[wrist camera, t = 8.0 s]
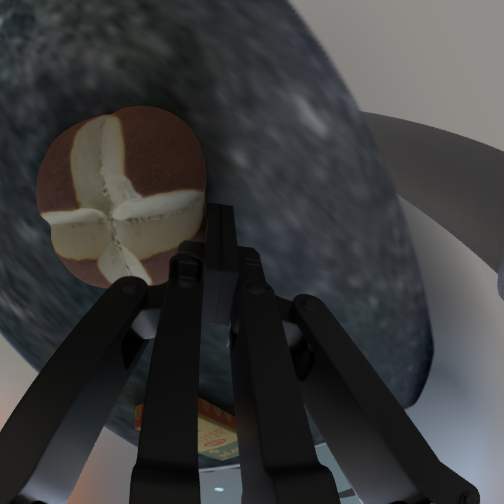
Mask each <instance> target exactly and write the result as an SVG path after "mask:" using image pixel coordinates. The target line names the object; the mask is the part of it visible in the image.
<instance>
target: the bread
mask: <svg viewBox="0 0 504 504" xmlns="http://www.w3.org/2000/svg"><path fill="white" fill-rule="evenodd" d="M206 184H207V171H206V162H205V157H204V154H203V152H202V148H201V145H200V143H199V141H198V139H197V137H196V135H195V134H194V132H193V131H192V129H191V128H190V127H189V126H188V125H187V124H186V123H185V122H184V121H183V120H181V119H180V118H179V117H177V116H175V115H174V114H172V113H170V112H168V111H166V110H163V109H160V108H157V107H153V106H146V105H145V106H132V107H127V108H123V109H121V110H119V111H117V112H115V113H113V114H110V115H100V116H95V117H92V118H89V119H87V120H84V121H82V122H80V123H78V124H76V125H74V126H72V127H70V128H69V129H67V130H65V131H64V132H63V133H61V134H60V135H59V136H58V137H57V138H56V139H55V140H54V141H53V143H52V144H51V145H50V147H49V149H48V151H47V153H46V155H45V157H44V159H43V161H42V164H41V166H40V169H39V173H38V178H37V184H36V198H37V205H38V208H39V212H40V215H41V216H42V217H43V218H44V219H45V220H46V221H48V222H49V224H50V226H51V239H52V245H53V247H54V250H55V252H56V254H57V255H58V257H59V258H60V260H61V261H62V262H63V264H64V265H65V266H66V267H67V269H68V270H69V271H70V272H71V273H72V274H73V275H75V276H76V277H77V278H78V279H80V280H82V281H84V282H85V283H88V284H90V285H93V286H97V287H101V288H109V287H110V286H111V285H112V284H113V283H114V281H116V280H117V279H119V278H121V277H124V276H137V277H140V278H142V279H144V280H145V282H146V283H147V284H148V285H159V284H162V283H165V282H166V281H168V277H169V260H170V259H171V257H172V256H174V255H176V254H177V250H178V246H179V244H180V243H181V242H183V241H184V240H189V241H197V242H204V238H205V231H206V224H207V213H206V202H205V190H206Z"/></svg>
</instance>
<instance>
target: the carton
mask: <svg viewBox="0 0 504 504" xmlns="http://www.w3.org/2000/svg"><path fill="white" fill-rule="evenodd" d="M143 406H144V404H141V405H138V406H136V412H135V429H137V430H139V431H140V428H141V420H142V413H143ZM198 453H199V454H202V455H206V456H209V457H212V458H216V459H219V460H226V459H229V458H232V457H235V456H238V455H239V450H238V439H237V429H236V418H235V416H233V415H231V414H229V413H227V412H225V411H223V410H222V409H220V408H218V407H216V406H214V405H212V404H211V403H209V402H207V401H205V400H203V399H202V398H200V397H198Z"/></svg>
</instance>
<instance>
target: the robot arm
mask: <svg viewBox="0 0 504 504" xmlns="http://www.w3.org/2000/svg"><path fill="white" fill-rule="evenodd" d="M230 318H231V328H230V333H229V337H228V342H227V346H226V347H228V348H229V346H230V357H231V370H232V383H233V395H234V407H235V418H236V429H237V439H238V450H239V459H240V469H241V477H242V488H243V491H242V498H241V504H341V503H340V499H339V495H338V491H337V487H336V483H335V480H334V477H333V475H332V472H331V471H330V470H329V469H328V467H326V466H324V465H322V464H320V462H319V461H318V458H317V455H316V451H315V447H314V443H313V439H312V435H311V431H310V427H309V423H308V419H307V415H306V411H305V407H304V404H305V406H306V408H307V410H308V412H309V413H310V415H311V417H312V419H313V421H314V422H315V424H316V426H317V428H318V430H319V431H320V433H321V435H322V437H323V438H324V440H325V442H326V444H327V446H328V447H329V449H330V451H331V452H332V454H333V456H334V458H335V460H336V461H337V463H338V465H339V467H340V468H341V470H342V472H343V473H344V475H345V477H346V479H347V480H348V482H349V484H350V485H351V487H352V489H353V491H354V492H355V494H356V496H357V497H358V498H359V500H360V501H361V503H362V504H480V495H479V492H478V490H477V488H476V487H475V486H474V485H472V484H471V483H469V482H468V481H466V480H465V479H464V478H462V477H461V476H459V475H458V474H457V473H455V472H454V471H453V470H451V469H450V468H448V467H447V466H446V465H444V464H443V463H442V462H440V461H439V460H438V458H437V456H436V455H435V453H434V452H433V451H432V449H431V448H430V446H429V445H428V443H427V442H426V440H425V439H424V438H423V436H422V435H421V433H420V432H419V431H418V429H417V428H416V426H415V425H414V423H413V422H412V421H411V419H410V418H409V416H407V414H406V412H405V411H404V409H403V408H402V407H401V405H400V404H399V403H398V401H397V400H396V398H395V397H394V396H393V394H392V393H391V392H390V390H389V389H388V387H387V386H386V385H385V383H384V382H383V381H382V379H381V378H380V377H379V375H378V374H377V373H376V371H375V370H374V369H373V367H372V366H371V364H370V363H369V362H368V360H367V359H366V358H365V356H364V355H363V354H362V352H361V351H360V350H359V349H358V347H357V346H356V345H355V343H354V342H353V341H352V339H351V338H350V337H349V335H348V334H347V333H346V331H345V330H344V329H343V327H342V326H341V325H340V324H339V322H338V321H337V320H336V318H335V317H334V316H333V314H332V313H331V312H330V311H329V309H328V308H327V307H326V305H325V304H324V303H323V302H322V301H321V300H320V299H318V298H316V297H315V296H312V295H308V294H300V295H297V296H296V297H295V298H294V300H293V301H290V300H287V299H283V298H281V297H278V296H276V295H275V294H274V290H273V289H272V287H271V286H270V285H269V284H268V283H266V281H265V276H264V272H263V268H262V264H261V260H260V255H259V253H258V252H257V251H256V250H255V249H254V248H250V247H242V246H237V239H236V230H235V221H234V212H233V206H228V205H221V204H214V203H210V204H209V210H208V217H207V224H206V231H205V238H204V242H197V241H189V240H184V241H183V242H181V243H180V244H179V246H178V250H177V254H176V255H174V256H172V257H171V259H170V260H169V277H168V281H166V282H165V283H162V284H159V285H152V286H148V285H147V283H146V282H145V280H144V279H142V278H140V277H137V276H124V277H121V278H119V279H117V280H116V281H114V283H113V284H112V285H111V286H110V287H109V288H108V289H107V290H106V292H105V293H104V294H103V295H102V296H101V297H100V298H99V299H98V301H97V302H96V303H95V304H94V305H93V306H92V308H91V309H90V310H89V311H88V312H87V313H86V315H85V316H84V317H83V318H82V319H81V321H80V322H79V323H78V324H77V325H76V327H75V328H74V329H73V330H72V332H71V333H70V334H69V335H68V337H67V338H66V339H65V340H64V342H63V343H62V344H61V345H60V347H59V348H58V349H57V350H56V352H55V353H54V354H53V356H52V357H51V358H50V360H49V361H48V362H47V364H46V365H45V366H44V368H43V369H42V370H41V372H40V373H39V374H38V376H37V377H36V379H35V380H34V381H33V383H32V384H31V386H30V387H29V389H28V390H27V391H26V393H25V395H24V396H23V397H22V399H21V400H20V402H19V403H18V405H17V406H16V408H15V409H14V411H13V412H12V414H11V416H10V417H9V419H8V420H7V422H6V423H5V425H4V427H3V428H2V430H1V432H0V504H66V503H67V501H68V499H69V497H70V495H71V493H72V491H73V489H74V487H75V485H76V482H77V480H78V478H79V476H80V474H81V472H82V470H83V467H84V465H85V463H86V461H87V459H88V457H89V455H90V453H91V451H92V448H93V447H94V444H95V442H96V440H97V438H98V436H99V434H100V432H101V430H102V428H103V426H104V424H105V422H106V420H107V419H108V417H109V415H110V413H111V411H112V409H113V407H114V405H115V403H116V401H117V399H118V397H119V395H120V394H121V392H122V390H123V388H124V386H125V384H126V382H127V380H128V379H129V377H130V375H131V373H132V371H133V369H134V368H135V366H136V364H137V362H138V360H139V359H140V357H141V355H142V353H143V351H144V350H145V348H146V346H147V344H148V343H149V339H150V338H155V342H154V347H153V352H152V358H151V363H150V369H149V374H148V380H147V386H146V393H145V399H144V406H143V413H142V420H141V428H140V436H139V445H138V454H137V461H136V464H135V466H134V467H133V471H132V475H131V483H130V497H129V504H201V500H200V481H199V480H200V479H199V471H198V391H199V359H200V337H201V323H202V324H212V325H223V326H229V323H230ZM303 402H304V404H303Z"/></svg>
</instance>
